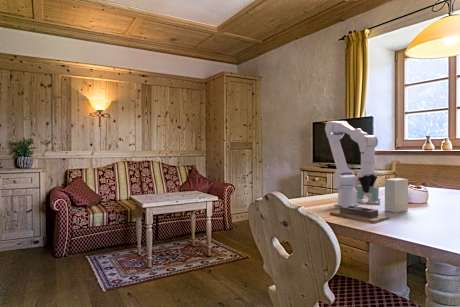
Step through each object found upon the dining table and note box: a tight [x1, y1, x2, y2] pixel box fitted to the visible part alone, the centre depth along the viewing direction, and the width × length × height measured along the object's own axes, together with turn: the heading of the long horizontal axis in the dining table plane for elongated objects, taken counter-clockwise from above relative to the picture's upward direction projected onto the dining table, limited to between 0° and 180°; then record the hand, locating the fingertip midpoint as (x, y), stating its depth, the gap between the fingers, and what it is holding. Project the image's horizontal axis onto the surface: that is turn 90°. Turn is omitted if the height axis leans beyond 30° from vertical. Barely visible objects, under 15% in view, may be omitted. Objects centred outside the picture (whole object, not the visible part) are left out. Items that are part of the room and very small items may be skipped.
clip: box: [356, 184, 380, 202], centre depth 141 cm, size 2×9×6 cm, turn 37°
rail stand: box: [329, 205, 390, 224], centre depth 133 cm, size 12×20×4 cm, turn 37°
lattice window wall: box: [357, 193, 381, 205], centre depth 162 cm, size 12×2×6 cm, turn 50°
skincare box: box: [384, 177, 409, 214], centre depth 142 cm, size 8×6×15 cm
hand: (367, 192), depth 141 cm, fingers closed on clip, 2 cm apart
